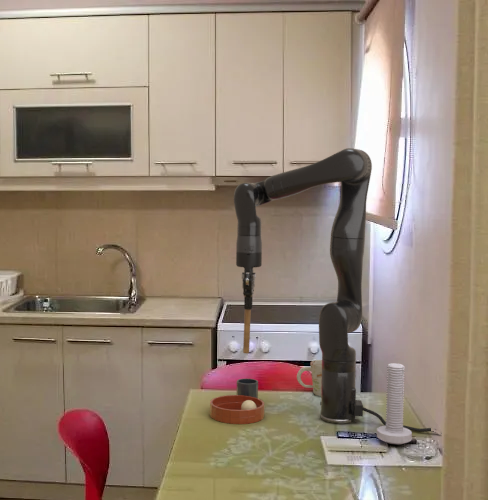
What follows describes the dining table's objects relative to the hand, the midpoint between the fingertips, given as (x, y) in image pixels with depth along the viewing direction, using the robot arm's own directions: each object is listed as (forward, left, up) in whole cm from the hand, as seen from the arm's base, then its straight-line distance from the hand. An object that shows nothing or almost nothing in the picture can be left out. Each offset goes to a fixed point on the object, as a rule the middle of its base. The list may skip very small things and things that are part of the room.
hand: (248, 308), depth 206 cm
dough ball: (0, +11, -27) cm, 29 cm away
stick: (+1, 0, -13) cm, 13 cm away
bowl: (+2, +13, -29) cm, 32 cm away
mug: (-21, -15, -29) cm, 39 cm away
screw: (-39, +27, -29) cm, 56 cm away
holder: (0, 0, -29) cm, 29 cm away
